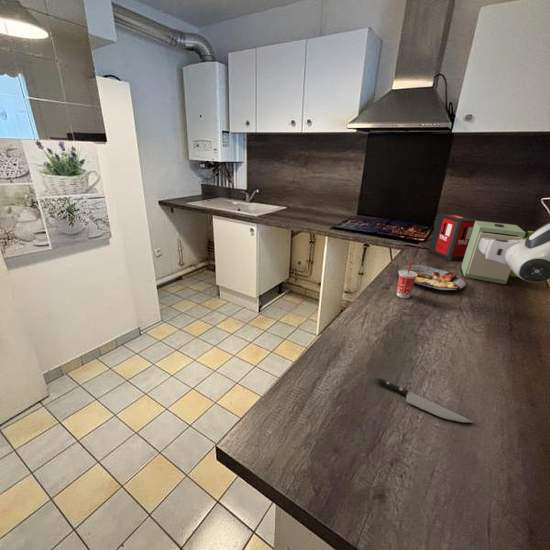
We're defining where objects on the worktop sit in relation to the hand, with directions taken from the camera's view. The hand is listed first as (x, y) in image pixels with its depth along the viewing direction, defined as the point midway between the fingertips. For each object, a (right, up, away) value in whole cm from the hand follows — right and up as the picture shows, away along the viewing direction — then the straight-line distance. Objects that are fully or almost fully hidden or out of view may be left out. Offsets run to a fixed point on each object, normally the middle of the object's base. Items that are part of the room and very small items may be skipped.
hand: (510, 243), depth 101 cm
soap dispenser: (+26, -11, +29) cm, 40 cm away
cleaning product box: (+8, -1, +52) cm, 53 cm away
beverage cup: (-35, -19, +6) cm, 40 cm away
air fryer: (+10, -11, +28) cm, 31 cm away
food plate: (-18, -14, +19) cm, 30 cm away
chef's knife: (-52, -38, -40) cm, 76 cm away
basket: (+8, -11, +24) cm, 27 cm away
